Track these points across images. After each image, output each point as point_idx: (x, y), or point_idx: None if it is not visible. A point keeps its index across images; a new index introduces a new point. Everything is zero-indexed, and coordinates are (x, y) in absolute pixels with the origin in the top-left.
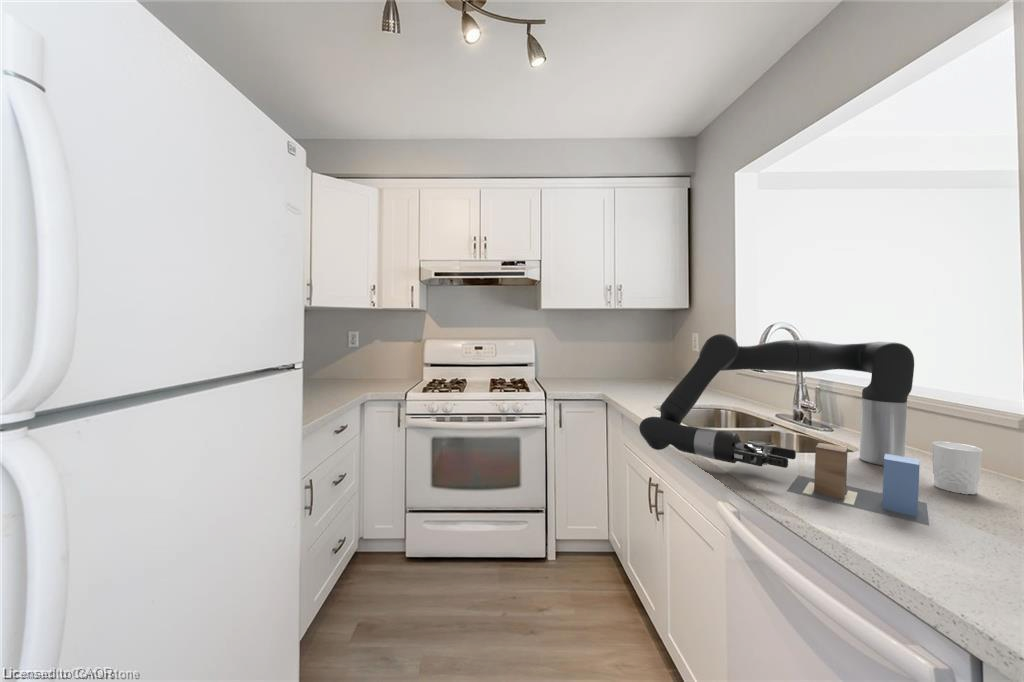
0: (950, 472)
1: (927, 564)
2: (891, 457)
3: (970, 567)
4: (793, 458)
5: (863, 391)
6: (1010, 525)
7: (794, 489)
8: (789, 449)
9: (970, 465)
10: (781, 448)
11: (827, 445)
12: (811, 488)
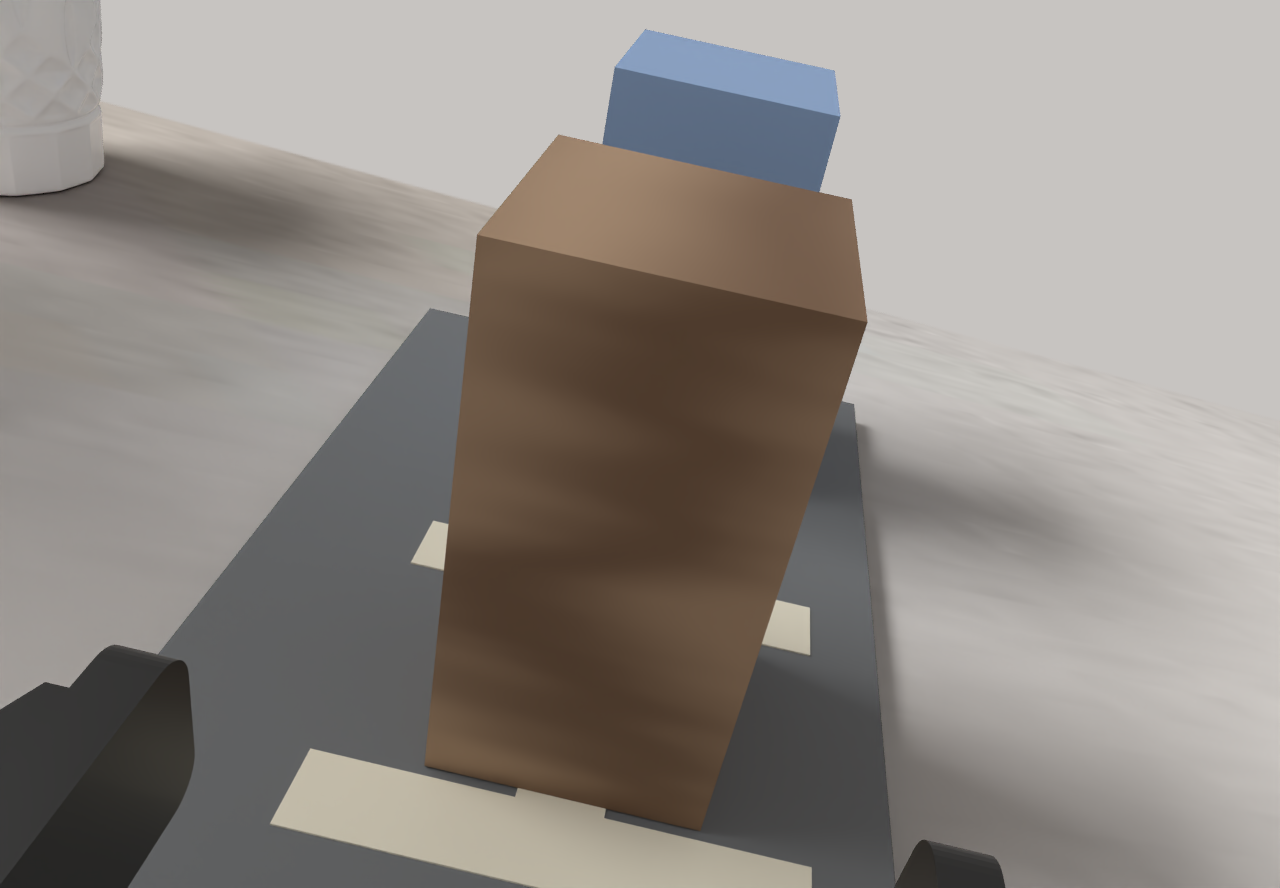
0: (61, 67)
1: None
2: (732, 83)
3: (1200, 446)
4: (180, 787)
5: None
6: None
7: None
8: (99, 723)
9: None
10: (3, 879)
11: (613, 218)
12: (564, 836)
